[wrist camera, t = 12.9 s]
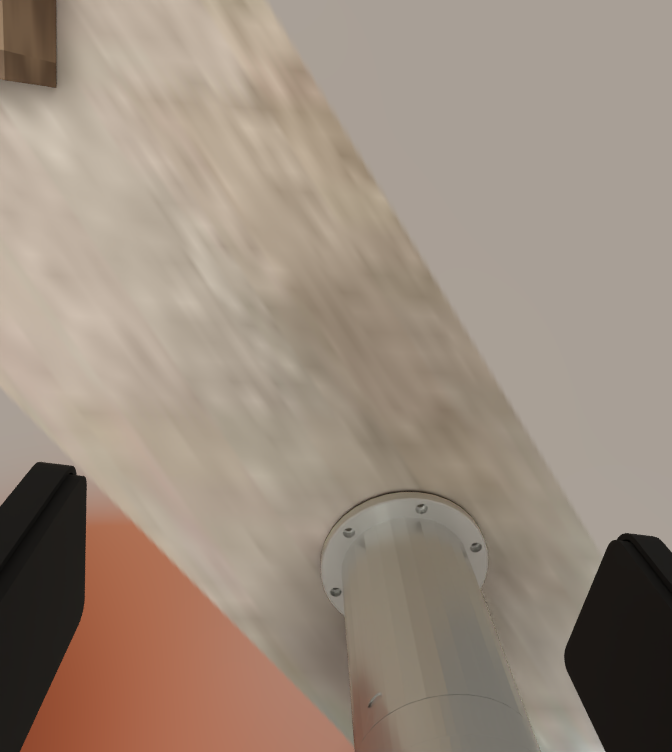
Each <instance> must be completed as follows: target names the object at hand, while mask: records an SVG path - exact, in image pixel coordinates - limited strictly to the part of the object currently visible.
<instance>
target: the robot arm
mask: <svg viewBox="0 0 672 752" xmlns="http://www.w3.org/2000/svg"><path fill="white" fill-rule="evenodd" d="M86 487H87V484H86V477H84V476H78V475H76V470H75V467H74V466H69V465H61V464H52V463H44V462H37V463H36V464H35V465H34V466H33V467H32V468H31V470H30V471H29V472H28V473H27V474H26V476H25V477H24V478H23V479H22V481H21V482H20V483H19V484H18V485H17V487H16V488H15V489H14V490H13V491H12V493H11V494H10V495H9V496H8V498H7V499H6V500H5V501H4V503H3V504H2V505H1V506H0V752H20V750H21V747H22V746H23V743H24V741H25V739H26V737H27V735H28V733H29V730H30V728H31V726H32V724H33V722H34V720H35V717H36V715H37V713H38V711H39V709H40V707H41V704H42V702H43V700H44V698H45V696H46V694H47V691H48V689H49V687H50V685H51V683H52V681H53V679H54V676H55V674H56V672H57V670H58V668H59V666H60V663H61V661H62V659H63V657H64V654H65V653H66V651H67V648H68V646H69V644H70V642H71V640H72V638H73V635H74V633H75V631H76V629H77V627H78V625H79V622H80V619H81V616H82V612H83V607H84V599H85V546H86V545H85V543H86V541H85V540H86V490H87V488H86ZM320 568H321V581H322V584H323V588H324V591H325V593H326V595H327V597H328V599H329V600H330V602H331V603H332V605H333V606H334V607H335V608H336V609H337V610H338V611H339V612H340V613H341V614H342V615H344V616H345V628H346V641H347V655H348V668H349V682H350V695H351V708H352V722H353V735H354V748H355V752H541V751H540V748H539V746H538V743H537V740H536V738H535V735H534V733H533V730H532V727H531V724H530V722H529V719H528V716H527V713H526V711H525V708H524V705H523V703H522V700H521V697H520V694H519V692H518V689H517V686H516V684H515V681H514V678H513V676H512V673H511V670H510V668H509V665H508V662H507V660H506V657H505V654H504V652H503V649H502V646H501V644H500V641H499V638H498V636H497V633H496V630H495V628H494V625H493V622H492V620H491V617H490V614H489V611H488V609H487V606H486V603H485V601H484V598H483V595H482V593H481V590H480V589H481V587H482V585H483V583H484V581H485V578H486V574H487V569H488V551H487V547H486V543H485V540H484V537H483V535H482V533H481V531H480V529H479V527H478V525H477V524H476V523H475V521H474V520H473V518H472V517H471V516H470V515H469V514H468V513H467V512H466V511H464V510H463V509H462V508H461V507H460V506H458V505H456V504H454V503H453V502H451V501H449V500H447V499H444V498H442V497H439V496H436V495H432V494H426V493H420V492H399V493H392V494H386V495H382V496H379V497H376V498H373V499H370V500H368V501H366V502H364V503H362V504H360V505H359V506H357V507H355V508H354V509H352V510H351V511H350V512H348V513H347V514H346V515H344V516H343V517H342V518H341V519H340V520H339V522H338V523H337V524H336V525H335V526H334V527H333V528H332V530H331V532H330V533H329V535H328V537H327V539H326V540H325V543H324V547H323V550H322V553H321V564H320ZM564 660H565V666H566V669H567V672H568V674H569V676H570V678H571V680H572V682H573V684H574V687H575V689H576V691H577V693H578V695H579V697H580V699H581V701H582V703H583V705H584V708H585V710H586V712H587V714H588V716H589V718H590V720H591V722H592V724H593V726H594V729H595V731H596V733H597V735H598V737H599V739H600V741H601V743H602V745H603V747H604V750H605V752H672V552H671V551H670V550H669V549H668V548H667V547H666V545H665V544H664V543H663V542H662V541H661V540H660V539H659V538H657V537H653V536H646V535H637V534H629V533H625V534H622V535H620V536H619V537H618V539H617V540H613V541H611V542H610V544H609V545H608V547H607V549H606V552H605V554H604V557H603V559H602V561H601V564H600V566H599V569H598V571H597V573H596V576H595V578H594V581H593V583H592V585H591V588H590V590H589V593H588V595H587V597H586V600H585V602H584V605H583V607H582V609H581V612H580V614H579V617H578V619H577V621H576V624H575V626H574V629H573V631H572V634H571V636H570V638H569V641H568V643H567V646H566V648H565V654H564Z"/></svg>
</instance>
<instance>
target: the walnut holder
mask: <svg viewBox="0 0 672 752" xmlns="http://www.w3.org/2000/svg"><path fill="white" fill-rule="evenodd" d="M0 79H2V80H8V81H15V82H22V83H28V84H35V85H42V86H48V87H55V88H56V0H0Z"/></svg>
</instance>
